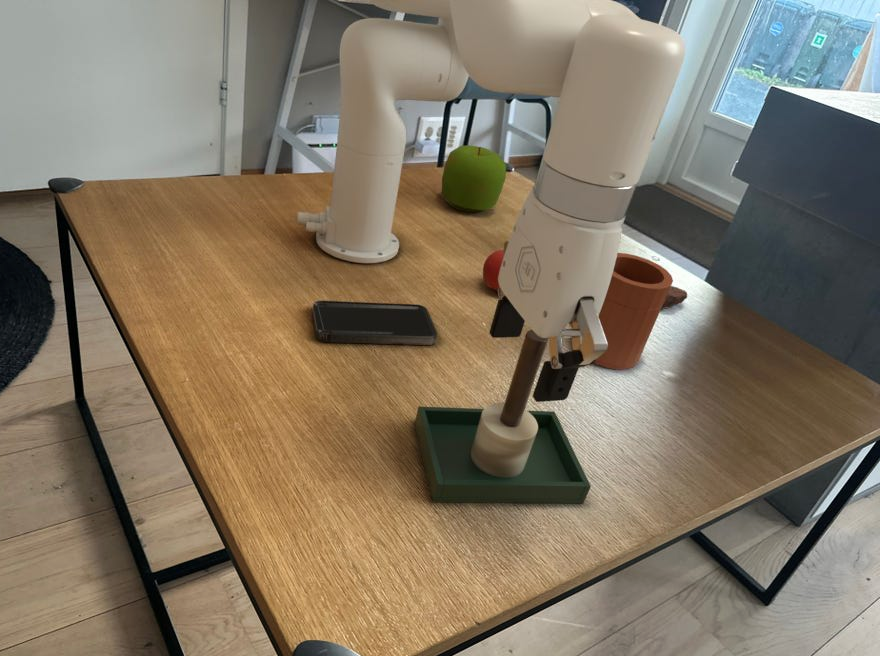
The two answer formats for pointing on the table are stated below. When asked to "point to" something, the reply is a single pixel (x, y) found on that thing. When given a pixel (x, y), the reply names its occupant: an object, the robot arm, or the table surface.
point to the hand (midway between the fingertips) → (525, 365)
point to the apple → (473, 178)
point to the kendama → (493, 269)
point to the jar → (631, 309)
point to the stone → (674, 297)
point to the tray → (460, 480)
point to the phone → (373, 323)
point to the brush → (510, 418)
